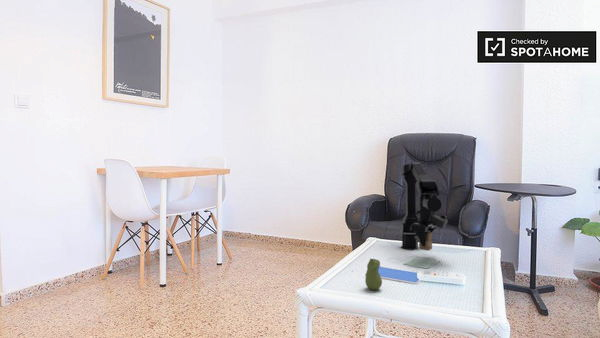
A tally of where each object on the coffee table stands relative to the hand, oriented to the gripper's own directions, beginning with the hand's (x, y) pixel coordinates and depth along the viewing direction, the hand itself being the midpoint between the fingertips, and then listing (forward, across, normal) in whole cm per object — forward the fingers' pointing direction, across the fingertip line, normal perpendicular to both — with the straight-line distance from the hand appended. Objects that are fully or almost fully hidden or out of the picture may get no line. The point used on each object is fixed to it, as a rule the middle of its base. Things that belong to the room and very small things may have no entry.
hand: (425, 245), depth 166 cm
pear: (+7, -46, 0) cm, 47 cm away
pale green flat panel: (+7, -4, 0) cm, 8 cm away
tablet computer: (+7, -27, +1) cm, 28 cm away
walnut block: (+2, 0, 0) cm, 2 cm away
